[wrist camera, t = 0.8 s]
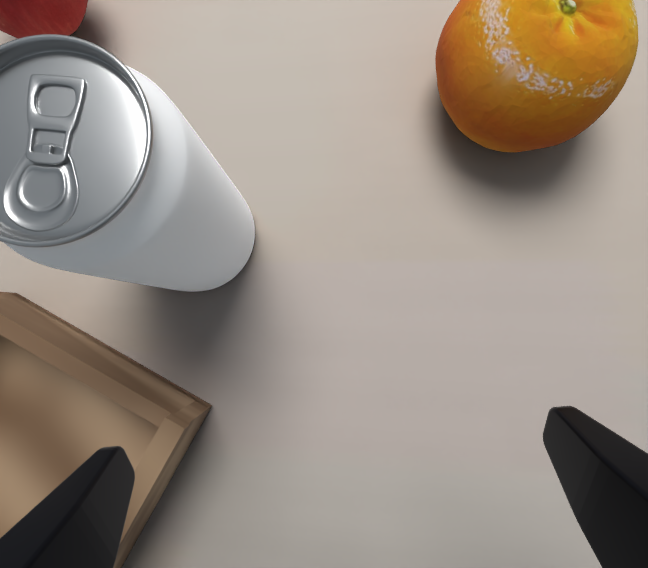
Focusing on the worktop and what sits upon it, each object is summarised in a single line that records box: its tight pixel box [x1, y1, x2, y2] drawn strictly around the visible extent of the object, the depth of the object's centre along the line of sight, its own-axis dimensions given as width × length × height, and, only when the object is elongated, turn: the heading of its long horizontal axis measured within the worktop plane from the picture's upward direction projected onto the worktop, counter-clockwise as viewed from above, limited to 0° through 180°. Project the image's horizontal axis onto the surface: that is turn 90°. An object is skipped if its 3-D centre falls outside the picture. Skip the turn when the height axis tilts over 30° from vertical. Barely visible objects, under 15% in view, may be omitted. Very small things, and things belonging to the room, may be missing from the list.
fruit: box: [436, 0, 638, 152], centre depth 19 cm, size 8×8×8 cm
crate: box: [0, 292, 212, 568], centre depth 19 cm, size 13×13×4 cm
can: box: [0, 34, 255, 292], centre depth 16 cm, size 6×6×12 cm
